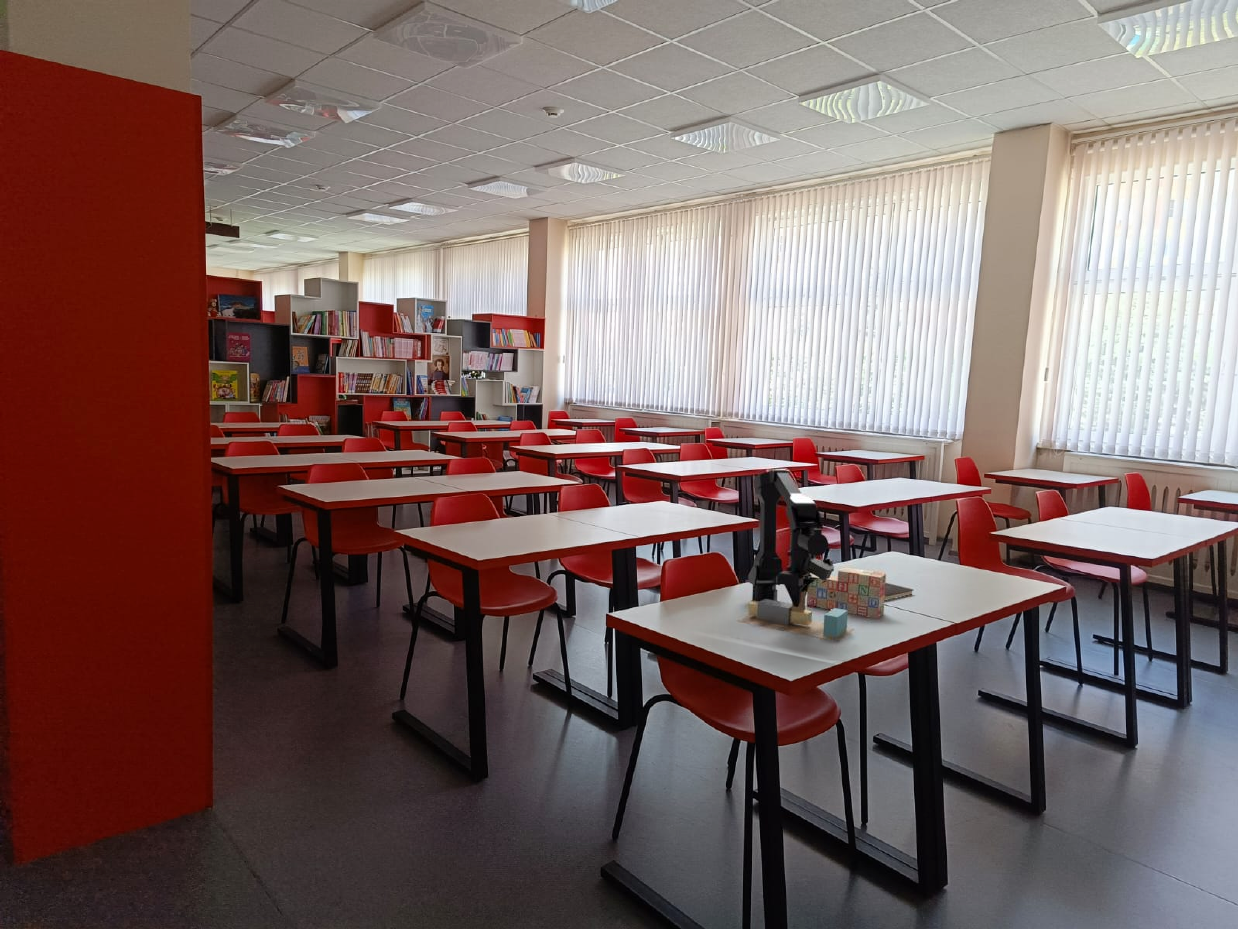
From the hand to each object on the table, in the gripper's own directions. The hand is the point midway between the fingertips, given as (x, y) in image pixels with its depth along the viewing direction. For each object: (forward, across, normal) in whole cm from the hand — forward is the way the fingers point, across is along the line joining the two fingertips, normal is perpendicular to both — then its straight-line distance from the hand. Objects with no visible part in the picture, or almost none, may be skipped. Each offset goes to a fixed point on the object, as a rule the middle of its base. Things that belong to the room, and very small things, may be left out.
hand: (798, 605), depth 203 cm
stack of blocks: (+7, +27, -4) cm, 29 cm away
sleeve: (+6, 0, +6) cm, 8 cm away
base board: (+6, 0, +1) cm, 7 cm away
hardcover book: (+7, +56, -2) cm, 57 cm away
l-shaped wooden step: (+5, 0, +5) cm, 7 cm away
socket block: (+6, 0, -10) cm, 12 cm away
